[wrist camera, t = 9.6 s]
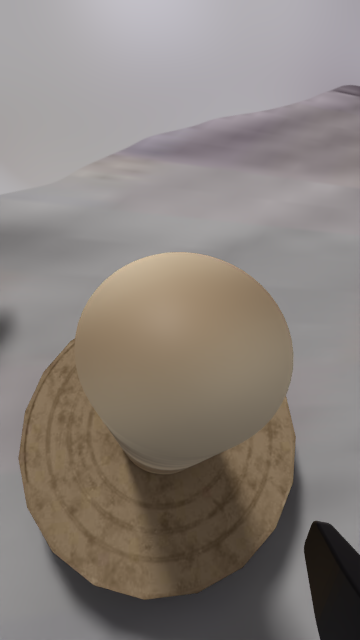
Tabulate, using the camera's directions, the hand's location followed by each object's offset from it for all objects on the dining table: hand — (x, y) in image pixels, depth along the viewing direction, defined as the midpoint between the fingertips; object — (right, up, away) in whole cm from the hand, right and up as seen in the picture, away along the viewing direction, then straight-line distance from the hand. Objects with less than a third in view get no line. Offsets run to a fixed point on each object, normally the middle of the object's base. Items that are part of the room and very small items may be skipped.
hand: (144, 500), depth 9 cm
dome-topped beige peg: (0, -1, +10) cm, 10 cm away
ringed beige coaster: (0, -3, +13) cm, 13 cm away
